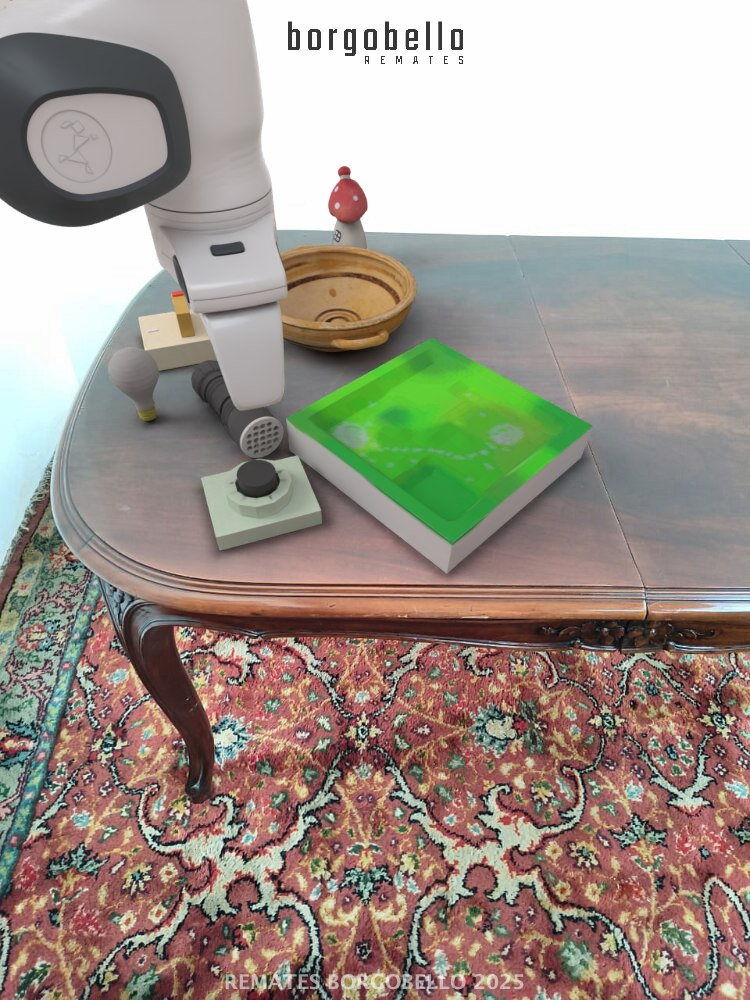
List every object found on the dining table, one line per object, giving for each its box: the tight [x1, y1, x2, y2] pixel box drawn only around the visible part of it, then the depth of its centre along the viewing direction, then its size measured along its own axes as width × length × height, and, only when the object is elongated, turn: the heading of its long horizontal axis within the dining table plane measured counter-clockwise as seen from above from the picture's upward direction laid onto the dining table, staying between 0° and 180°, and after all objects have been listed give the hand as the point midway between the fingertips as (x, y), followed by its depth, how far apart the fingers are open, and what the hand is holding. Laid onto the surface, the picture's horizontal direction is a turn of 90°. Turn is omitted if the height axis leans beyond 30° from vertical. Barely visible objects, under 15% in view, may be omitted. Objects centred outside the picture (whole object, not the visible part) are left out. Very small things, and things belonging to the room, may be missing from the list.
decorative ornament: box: [327, 165, 369, 249], centre depth 99 cm, size 9×7×15 cm
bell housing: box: [200, 455, 323, 552], centre depth 63 cm, size 11×9×4 cm
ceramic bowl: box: [279, 244, 418, 353], centre depth 86 cm, size 30×24×8 cm
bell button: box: [237, 459, 277, 498], centre depth 61 cm, size 4×4×2 cm
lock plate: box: [138, 308, 217, 372], centre depth 84 cm, size 12×9×4 cm
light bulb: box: [107, 346, 160, 422], centre depth 71 cm, size 5×6×10 cm
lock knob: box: [170, 290, 195, 337], centre depth 81 cm, size 6×2×4 cm, turn 20°
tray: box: [285, 337, 594, 575], centre depth 69 cm, size 25×25×5 cm
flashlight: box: [190, 360, 284, 459], centre depth 72 cm, size 15×5×5 cm, turn 36°
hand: (243, 387), depth 53 cm, fingers closed
